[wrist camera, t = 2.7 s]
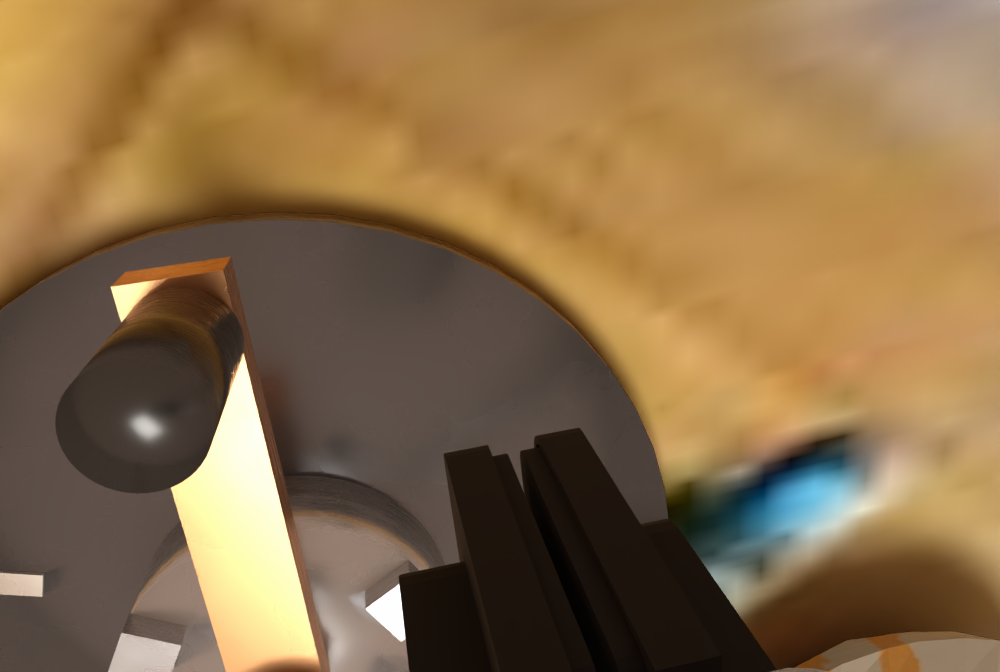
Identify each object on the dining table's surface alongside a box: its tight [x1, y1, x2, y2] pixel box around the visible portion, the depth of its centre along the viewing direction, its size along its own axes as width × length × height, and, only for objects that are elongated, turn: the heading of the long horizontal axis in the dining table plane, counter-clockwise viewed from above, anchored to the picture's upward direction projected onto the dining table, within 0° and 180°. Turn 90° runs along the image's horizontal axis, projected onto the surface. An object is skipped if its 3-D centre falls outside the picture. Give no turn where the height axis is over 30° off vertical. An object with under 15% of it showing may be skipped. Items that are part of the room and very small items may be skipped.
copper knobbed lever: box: [55, 257, 445, 672], centre depth 21 cm, size 18×10×9 cm, turn 6°
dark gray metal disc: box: [0, 212, 668, 672], centre depth 28 cm, size 26×26×1 cm
